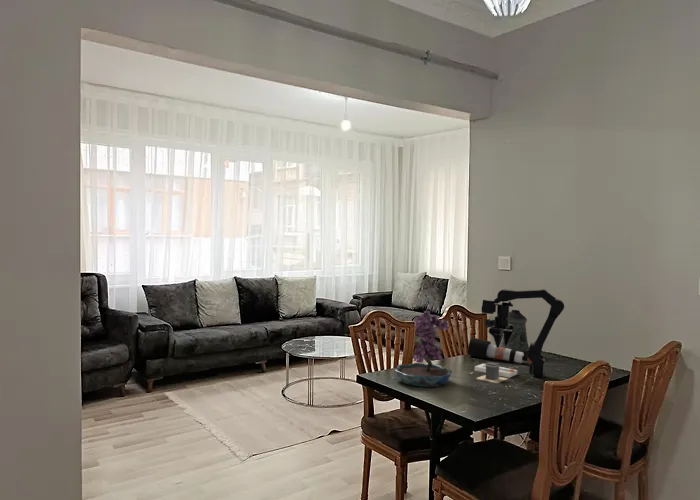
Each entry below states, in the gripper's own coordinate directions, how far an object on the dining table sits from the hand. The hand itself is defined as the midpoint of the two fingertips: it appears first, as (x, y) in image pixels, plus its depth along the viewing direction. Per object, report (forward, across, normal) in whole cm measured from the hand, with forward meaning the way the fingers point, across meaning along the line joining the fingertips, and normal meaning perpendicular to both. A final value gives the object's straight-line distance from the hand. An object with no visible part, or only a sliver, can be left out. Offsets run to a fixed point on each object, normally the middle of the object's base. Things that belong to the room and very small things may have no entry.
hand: (501, 346), depth 265 cm
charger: (+12, +18, +4) cm, 22 cm away
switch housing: (+13, +6, 0) cm, 14 cm away
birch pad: (+13, +18, +4) cm, 23 cm away
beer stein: (+13, -47, -15) cm, 51 cm away
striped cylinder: (+13, -24, -12) cm, 30 cm away
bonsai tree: (+13, +40, -18) cm, 46 cm away
